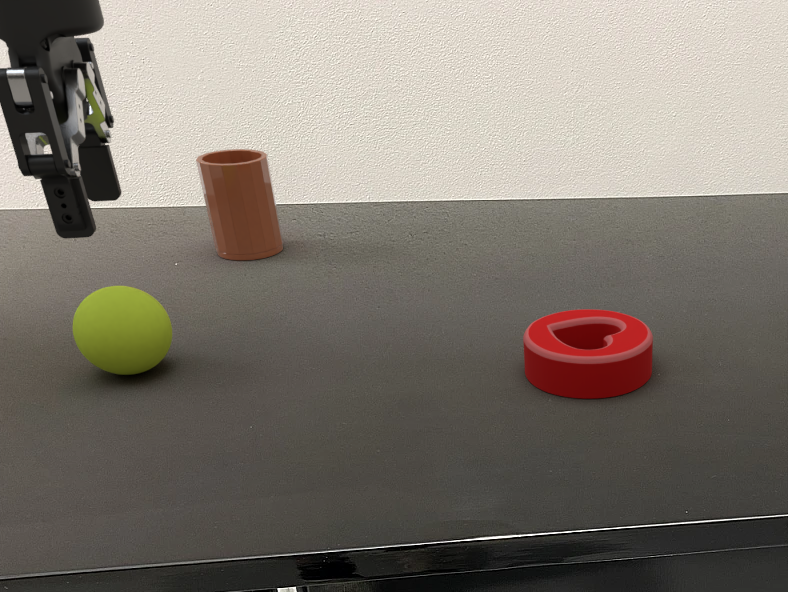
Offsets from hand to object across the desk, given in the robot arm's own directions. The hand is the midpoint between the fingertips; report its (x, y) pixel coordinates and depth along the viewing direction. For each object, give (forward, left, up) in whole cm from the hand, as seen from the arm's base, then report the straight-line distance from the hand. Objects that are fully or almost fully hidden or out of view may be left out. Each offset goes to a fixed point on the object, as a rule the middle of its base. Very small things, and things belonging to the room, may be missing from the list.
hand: (92, 217), depth 66 cm
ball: (0, 0, -12) cm, 12 cm away
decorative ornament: (+33, -7, -12) cm, 36 cm away
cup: (+6, +27, -12) cm, 30 cm away
